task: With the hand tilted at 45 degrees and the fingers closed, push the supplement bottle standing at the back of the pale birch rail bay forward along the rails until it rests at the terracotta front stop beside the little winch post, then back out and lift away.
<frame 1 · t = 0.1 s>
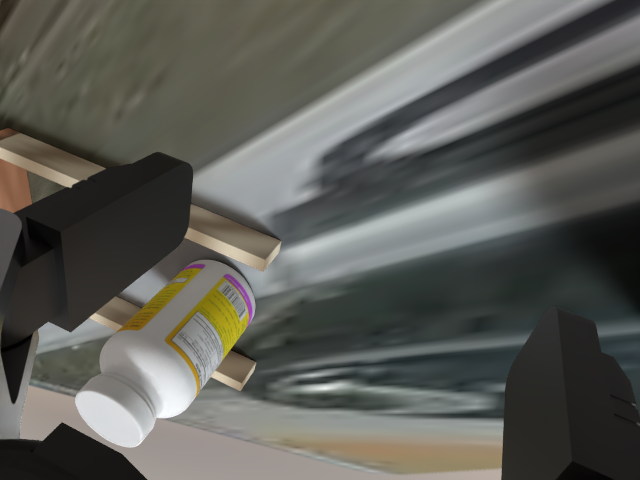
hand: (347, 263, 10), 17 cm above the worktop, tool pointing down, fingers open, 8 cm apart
supplement bottle: (222, 290, 38), on the worktop
bay: (156, 263, 39), on the worktop
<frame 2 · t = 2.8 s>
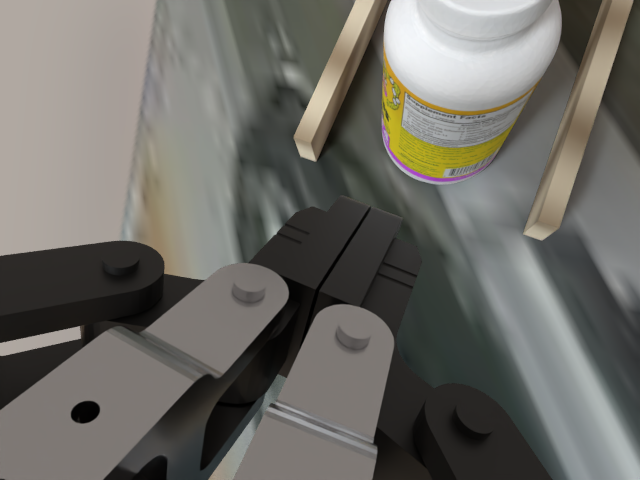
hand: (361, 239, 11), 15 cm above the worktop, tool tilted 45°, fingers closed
supplement bottle: (438, 136, 28), on the worktop
bay: (473, 47, 29), on the worktop
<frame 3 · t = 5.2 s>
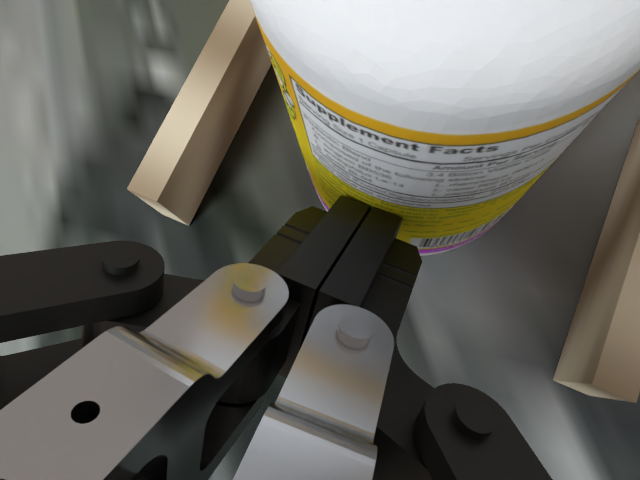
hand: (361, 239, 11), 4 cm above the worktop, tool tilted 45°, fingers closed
supplement bottle: (410, 164, 16), on the worktop, touching gripper
bay: (469, 31, 17), on the worktop
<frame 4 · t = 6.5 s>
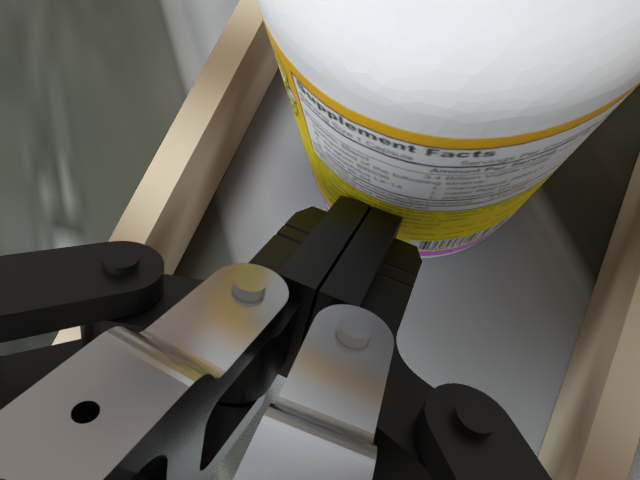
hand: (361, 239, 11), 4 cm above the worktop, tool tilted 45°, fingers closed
supplement bottle: (415, 166, 16), on the worktop, touching gripper
bay: (397, 223, 15), on the worktop
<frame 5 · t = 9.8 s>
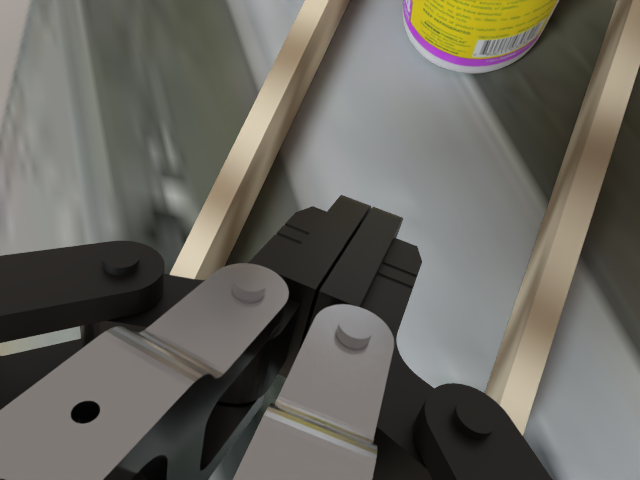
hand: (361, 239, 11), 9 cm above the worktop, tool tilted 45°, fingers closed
supplement bottle: (468, 22, 23), on the worktop
bay: (411, 167, 22), on the worktop
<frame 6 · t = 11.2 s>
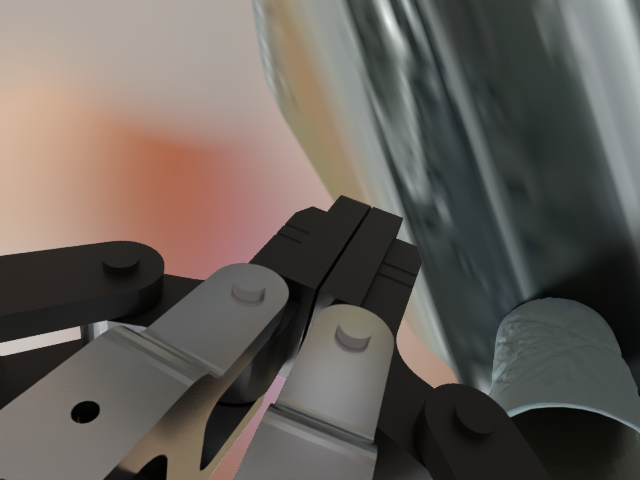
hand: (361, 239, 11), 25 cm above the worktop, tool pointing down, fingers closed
grey green cup: (556, 339, 39), on the worktop
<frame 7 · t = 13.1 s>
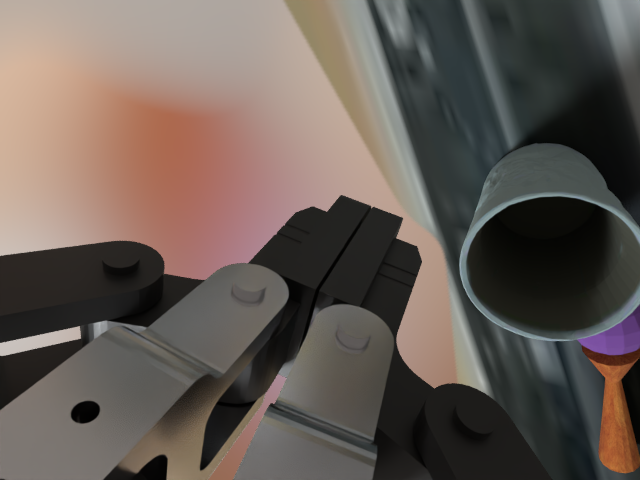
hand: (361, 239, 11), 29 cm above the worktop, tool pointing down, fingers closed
kendama: (608, 360, 43), on the worktop
grey green cup: (543, 193, 38), on the worktop
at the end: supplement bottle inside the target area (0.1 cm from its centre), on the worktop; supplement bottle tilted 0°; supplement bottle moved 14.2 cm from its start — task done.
